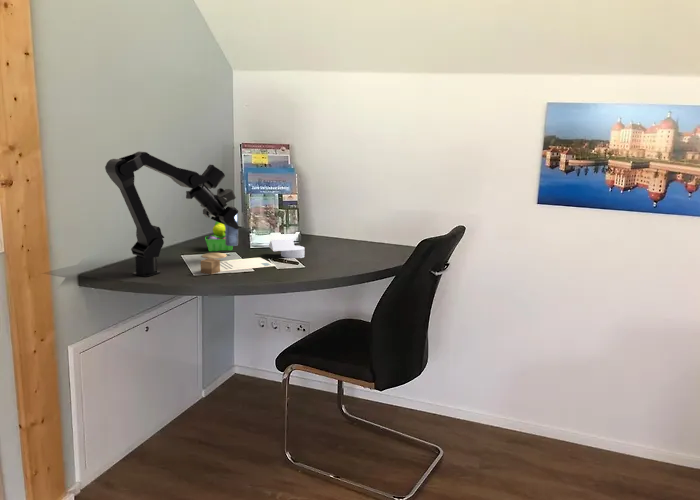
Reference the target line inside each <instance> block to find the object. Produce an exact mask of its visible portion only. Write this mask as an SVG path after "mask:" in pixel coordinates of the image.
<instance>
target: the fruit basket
mask: <svg viewBox="0 0 700 500" xmlns="http://www.w3.org/2000/svg"><path fill="white" fill-rule="evenodd" d="M212 232H213V234H211V235H207V236H205V238H204V239H205V243H206V246H207V249H208V252H220V251H233V247H234V246H227V245H225V225H224V224H222V223H219V222H217V221H215V223H214V226H213V227H212Z"/></svg>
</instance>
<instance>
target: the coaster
mask: <svg viewBox="0 0 700 500" xmlns="http://www.w3.org/2000/svg"><path fill="white" fill-rule="evenodd" d="M201 256H202V258H204V259H208V258H211V259H218V260H219V259H223V258H226V257H227V254H226V253H223V252H207V253H203V254H202V255H201Z"/></svg>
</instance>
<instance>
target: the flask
mask: <svg viewBox="0 0 700 500" xmlns="http://www.w3.org/2000/svg"><path fill="white" fill-rule="evenodd" d="M234 218H235V220H236V222H237V224H238V225H239V212H238V213H237V214H236V215H235V217H234ZM224 226H225V245H227V246H233V247H236V246H237V247H238V246H239V229H238V230H237V229H235V228H232V227H230V226H228V225H224Z"/></svg>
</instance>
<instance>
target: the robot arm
mask: <svg viewBox="0 0 700 500" xmlns="http://www.w3.org/2000/svg"><path fill="white" fill-rule="evenodd" d="M143 166H144V167H147V168H148V169H151V170H153V171H154V172H157V173H159V174H162V175H164V176H166V177H168V178H170V179H171V180H172V181H173V182H174V183H176V184H177V185H179V186H180V187H182V188H188V189H190V190H186V191H185V193H186V194H185V198H186V199H187V200H192V199H193V198H194V199H195V200H196V201H197V202H198V203H199V204H200V207H201V208H203V209H202V214H203V216H204V217H205V218H208V219H210V220H213V221H215V222H216V221H217V222H219V223H222V224H224V226H225V225H228V226H230V227H232V228H235V229H237V230H238V231H239V228H240V226H239V223H238V224H237V222H236V220H235V218H234V217H235V215H236V214H237V213H238V214H239V210H238V209H237V207H234V206H230V205H229V206H227V205H228V204H227V203H229V202H230V201H233V200H235V199H236V198H237V197H236V195H235V193H234V190H233V189H230V188H222V187H219V188H217V187H218V186H219V184H220V183H221V182H222V181H223V179H224V178H226V174H225V173H224V171H222V170H221V169H219V168H218V167H216V166H215V165H214V164H209V165H208V166H207V168H206V169H204V172H202V174H199V172H196V171H193V170H190V169H185V168H180V167H177V166H176V165H173V164H171V163H168V162H166V161H164V160H162V159H160V158H159V157H156V156H154V155H152V154H150V153H148V152H146V151H137V152H135V153H134V152H133V153H132V154H129V155H126V156H123V157H119V158H112V159H109V160H108V161H107V162H106V164H105V166H104V169H105V172H106V174H107V176H109V178H110V181H112V182H113V184H115V186H116V187H118V189H119V191H120V193H121V195H122V197H123V200H124V202H125V205H126V207H127V209H128V212H129V213H130V216H131V219H132V221H133V223H134V225H135V228H136V232H135V235H136V236H135V237H136V240H137V241H136V242H135V243H134V244H133V246H132V247H131V249H130V251H131V253H132V255H134V256H135V258H134V259H135V260H134V261H135V271H134V272H132V275H135V276H141V277H152V276H154V275H158V274H161V271H160V270H158V263H157V262H158V261H157V258H158V257H159V256H160V253H161V250H162V248H163V245H164V243H165V241H164V239H165V236H164V235H163V234H162V230H161V228H160V226H157V225H153V224H152V222H151V220H150V218H149V216H148V214H147V212H146V209H145V206H144V205H143V202H142V200H141V197H140V195H139V191H138V190H137V187H136V186H135V172H137V171H139V170H140V169H142V168H143ZM216 188H217V190H216V191H217V192H216V194H214V193H213V192H212V191H211V190H212V189H216Z"/></svg>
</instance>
